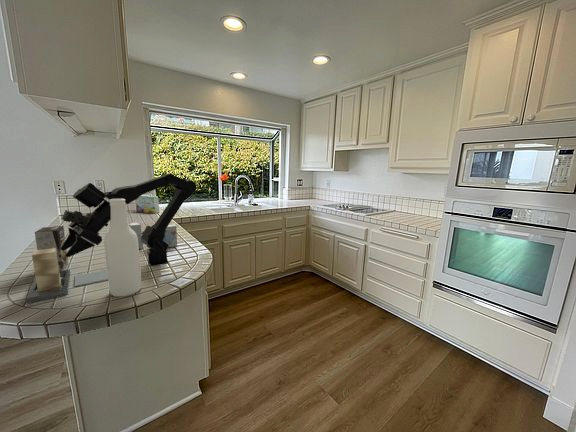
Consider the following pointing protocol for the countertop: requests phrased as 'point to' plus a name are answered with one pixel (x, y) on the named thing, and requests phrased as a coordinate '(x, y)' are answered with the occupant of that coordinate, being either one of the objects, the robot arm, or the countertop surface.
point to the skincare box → (137, 233)
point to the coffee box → (53, 243)
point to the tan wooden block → (46, 269)
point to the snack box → (147, 204)
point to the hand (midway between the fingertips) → (64, 253)
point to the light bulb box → (171, 235)
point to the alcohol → (122, 253)
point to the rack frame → (49, 293)
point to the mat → (91, 278)
